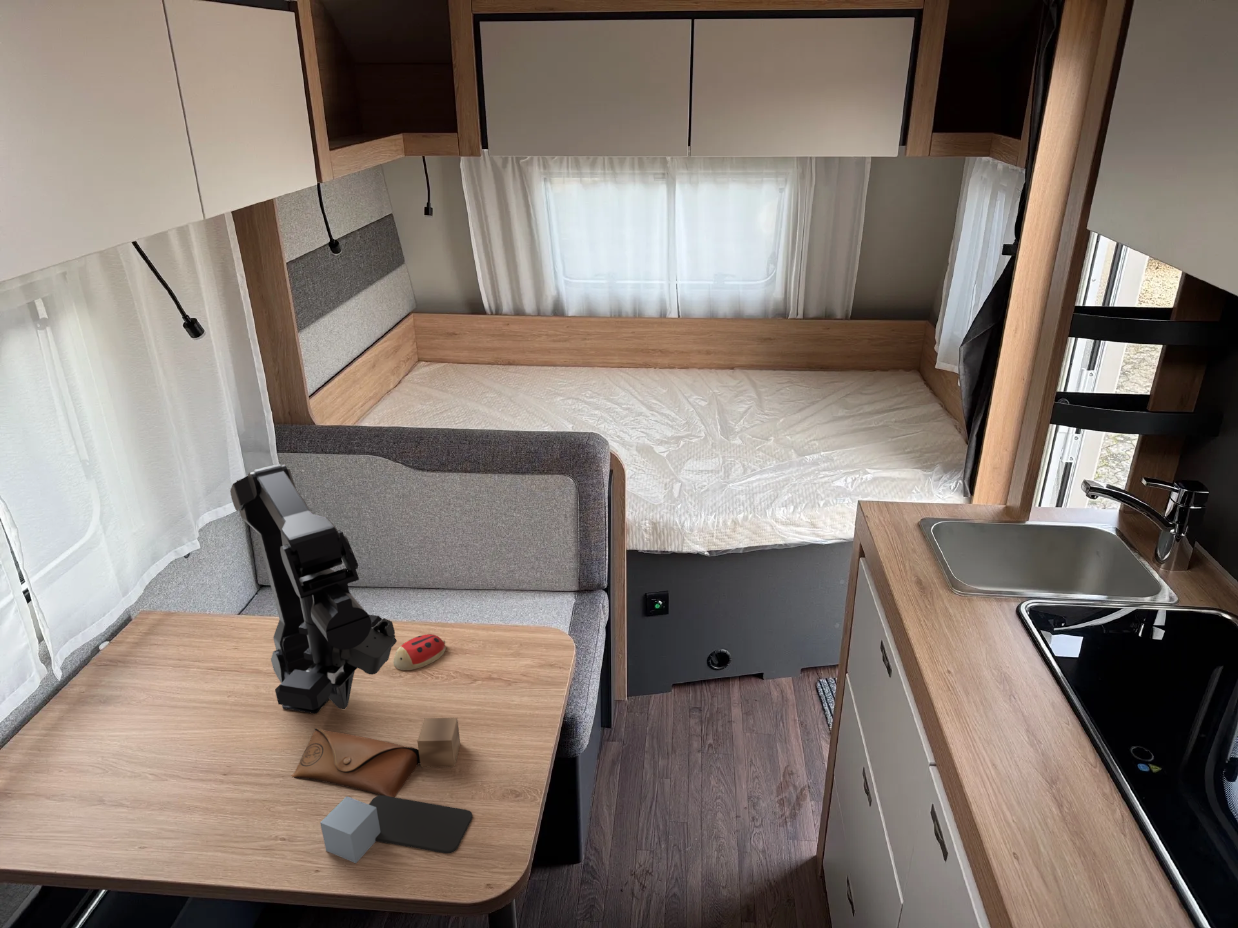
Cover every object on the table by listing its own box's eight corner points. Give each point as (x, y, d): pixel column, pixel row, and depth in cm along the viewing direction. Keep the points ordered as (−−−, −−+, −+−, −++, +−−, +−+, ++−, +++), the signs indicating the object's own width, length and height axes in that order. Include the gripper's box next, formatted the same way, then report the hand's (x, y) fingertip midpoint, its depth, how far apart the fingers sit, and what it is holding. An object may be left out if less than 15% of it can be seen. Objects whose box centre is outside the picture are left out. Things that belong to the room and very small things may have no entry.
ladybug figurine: (386, 661, 150) (384, 645, 149) (434, 639, 157) (432, 622, 155) (405, 678, 146) (403, 661, 144) (454, 654, 152) (452, 637, 151)
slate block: (326, 850, 112) (320, 822, 110) (352, 823, 116) (346, 795, 114) (355, 863, 110) (350, 834, 108) (381, 835, 114) (376, 807, 112)
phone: (453, 852, 110) (349, 833, 114) (454, 857, 111) (350, 838, 114) (475, 810, 117) (375, 793, 120) (475, 814, 117) (376, 797, 121)
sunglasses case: (285, 778, 124) (292, 731, 125) (313, 768, 131) (319, 724, 132) (395, 800, 120) (402, 752, 120) (418, 789, 126) (425, 743, 127)
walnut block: (420, 767, 126) (417, 740, 124) (427, 744, 130) (424, 718, 128) (454, 767, 126) (451, 740, 124) (460, 743, 130) (457, 717, 128)
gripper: (341, 662, 104) (359, 761, 110) (412, 585, 121) (424, 675, 127) (262, 650, 107) (284, 748, 113) (343, 577, 124) (358, 665, 130)
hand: (343, 707), depth 121 cm, fingers closed
